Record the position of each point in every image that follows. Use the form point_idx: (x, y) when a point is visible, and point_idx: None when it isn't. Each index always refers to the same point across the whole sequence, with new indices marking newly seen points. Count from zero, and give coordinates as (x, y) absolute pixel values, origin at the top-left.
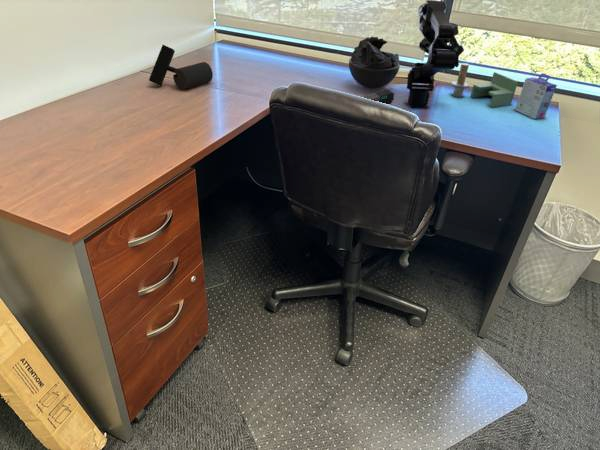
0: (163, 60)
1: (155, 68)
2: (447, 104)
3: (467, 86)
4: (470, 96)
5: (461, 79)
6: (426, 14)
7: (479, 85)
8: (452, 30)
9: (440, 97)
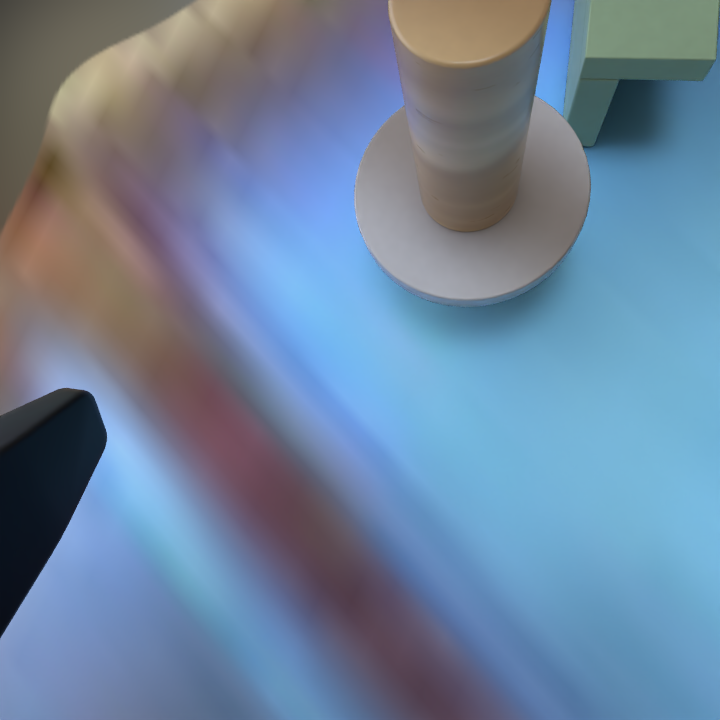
0: None
1: None
2: (647, 580)
3: (589, 171)
4: None
5: (504, 189)
6: None
7: (653, 12)
8: None
9: (434, 472)
